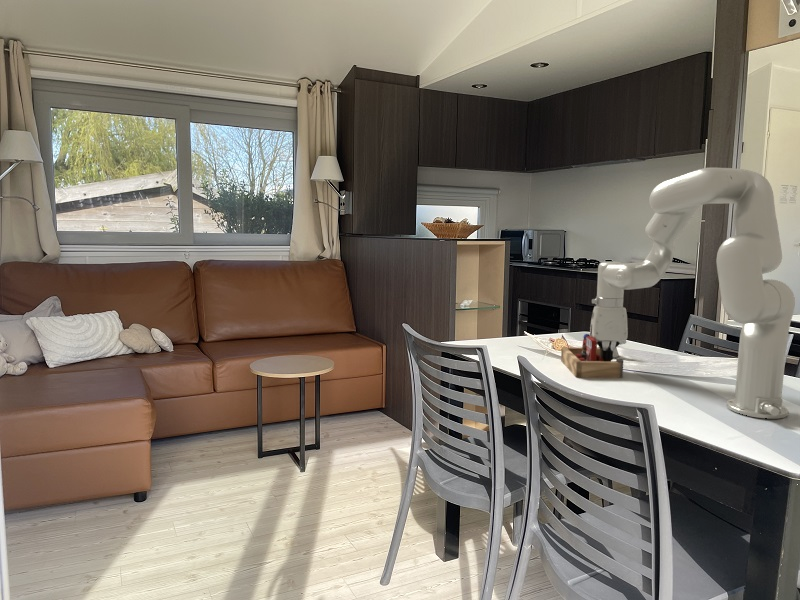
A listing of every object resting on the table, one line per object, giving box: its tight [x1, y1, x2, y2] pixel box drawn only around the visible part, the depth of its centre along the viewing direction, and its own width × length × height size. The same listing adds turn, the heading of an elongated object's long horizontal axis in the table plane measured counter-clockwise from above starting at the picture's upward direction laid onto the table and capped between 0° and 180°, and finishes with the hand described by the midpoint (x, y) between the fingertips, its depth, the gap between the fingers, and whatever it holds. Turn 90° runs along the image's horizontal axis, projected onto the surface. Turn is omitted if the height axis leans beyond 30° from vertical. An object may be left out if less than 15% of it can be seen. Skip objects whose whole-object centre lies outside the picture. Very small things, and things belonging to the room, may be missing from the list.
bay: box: [560, 346, 624, 379], centre depth 178 cm, size 19×13×5 cm
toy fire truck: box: [576, 333, 604, 361], centre depth 178 cm, size 7×12×10 cm, turn 174°
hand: (606, 362), depth 177 cm, fingers closed
